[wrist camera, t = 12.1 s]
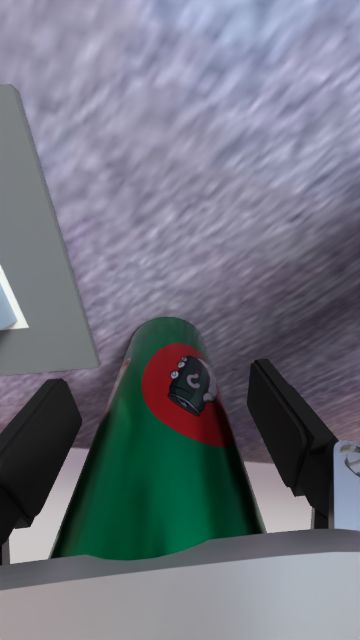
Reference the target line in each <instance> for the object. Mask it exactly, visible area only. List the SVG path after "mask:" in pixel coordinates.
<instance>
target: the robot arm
mask: <svg viewBox="0 0 360 640" xmlns="http://www.w3.org/2000/svg"><path fill="white" fill-rule="evenodd" d="M247 406H248V409H249V411H250V413H251V415H252V417H253V419H254V422H255V424H256V426H257V428H258V430H259V432H260V434H261V436H262V438H263V440H264V443H265V445H266V447H267V449H268V451H269V453H270V455H271V457H272V459H273V461H274V464H275V466H276V468H277V470H278V472H279V474H280V476H281V478H282V480H283V482H284V484H285V485H286V486H287V487H290V488H291V490H292V492H293V494H294V496H295V497H296V496H304V495H305V496H306V498H307V500H308V502H309V504H310V506H312V517H311V529H309V530H298V531H287V532H276V533H264V534H255V535H247V536H238V537H229V538H220V539H212V540H207V541H206V542H204V543H201V544H199V545H196V546H193V547H191V548H188V549H186V550H183V551H181V552H177V553H173V554H169V555H165V556H161V557H157V558H151V559H141V560H131V561H124V560H108V559H102V558H98V557H94V556H90V555H78V556H70V557H62V558H55V559H47V560H39V561H31V562H23V563H15V564H10V553H9V536H10V534H11V532H12V530H13V529H14V528H15V529H18V528H27V527H30V526H31V524H32V522H33V520H34V518H35V516H37V515H38V514H39V513H40V512H41V510H42V508H43V506H44V504H45V502H46V499H47V497H48V495H49V493H50V491H51V489H52V487H53V484H54V482H55V480H56V478H57V476H58V474H59V472H60V470H61V467H62V465H63V463H64V461H65V459H66V457H67V455H68V452H69V450H70V448H71V446H72V444H73V442H74V440H75V438H76V435H77V433H78V431H79V429H80V427H81V424H82V418H81V416H80V413H79V411H78V408H77V406H76V403H75V401H74V399H73V396H72V394H71V391H70V389H69V386H68V384H67V382H66V381H64V380H63V379H61V378H59V379H49V380H47V381H46V382H45V383H44V384H43V385H42V386H41V388H40V389H39V390H38V391H37V392H36V393H35V394H34V396H33V397H32V398H31V399H30V400H29V401H28V403H27V404H26V405H25V406H24V407H23V408H22V409H21V411H20V412H19V413H18V414H17V415H16V416H15V418H14V419H13V420H12V421H11V422H10V423H9V424H8V426H7V427H6V428H5V429H4V430H3V431H2V433H1V434H0V640H360V443H357V442H354V441H350V440H342V441H339V440H338V439H337V438H336V437H335V436H334V435H333V433H332V432H331V431H330V430H329V429H328V427H327V426H326V425H325V424H324V423H323V422H322V420H321V419H320V418H319V417H318V416H317V415H316V413H315V412H314V411H313V410H312V409H311V407H310V406H309V405H308V404H307V403H306V402H305V400H304V399H303V398H302V397H301V396H300V395H299V393H298V392H297V391H296V390H295V389H294V388H293V387H292V386H291V385H289V384H288V383H287V382H286V380H285V379H284V378H283V377H282V376H281V374H280V373H279V372H278V371H277V370H276V369H275V367H274V366H273V365H272V364H271V363H270V361H269V360H268V359H260V360H255V361H254V363H252V364H251V369H250V378H249V388H248V397H247Z"/></svg>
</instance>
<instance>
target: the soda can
mask: <svg viewBox="0 0 360 640" xmlns="http://www.w3.org/2000/svg"><path fill="white" fill-rule="evenodd" d="M264 533H267V531H266V529H265V526H264V522H263V519H262V517H261V513H260V510H259V507H258V504H257V501H256V498H255V495H254V492H253V489H252V486H251V483H250V480H249V477H248V474H247V471H246V468H245V465H244V462H243V459H242V456H241V453H240V450H239V447H238V444H237V441H236V438H235V434H234V431H233V428H232V425H231V422H230V419H229V416H228V413H227V410H226V407H225V404H224V401H223V398H222V395H221V392H220V389H219V386H218V383H217V380H216V377H215V374H214V371H213V368H212V365H211V362H210V359H209V356H208V353H207V350H206V347H205V344H204V341H203V338H202V336H201V334H200V333H199V331H198V330H197V329H196V328H195V327H194V326H193V325H192V324H190V323H189V322H187V321H185V320H182V319H179V318H175V317H160V318H156V319H153V320H150V321H148V322H146V323H145V324H143V325H142V326H141V327H140V328H138V330H137V331H136V332H135V334H134V335H133V337H132V340H131V342H130V345H129V347H128V350H127V353H126V355H125V358H124V361H123V363H122V366H121V368H120V371H119V374H118V376H117V379H116V382H115V384H114V387H113V389H112V392H111V395H110V397H109V400H108V403H107V405H106V408H105V410H104V413H103V416H102V418H101V421H100V424H99V426H98V429H97V431H96V434H95V437H94V439H93V442H92V445H91V447H90V450H89V453H88V455H87V458H86V461H85V463H84V466H83V469H82V471H81V473H80V476H79V479H78V481H77V484H76V487H75V489H74V492H73V495H72V497H71V500H70V503H69V505H68V508H67V510H66V513H65V516H64V518H63V521H62V523H61V526H60V529H59V531H58V534H57V537H56V539H55V542H54V544H53V547H52V550H51V552H50V555H49V558H48V559H55V558H62V557H70V556H78V555H90V556H94V557H98V558H102V559H108V560H124V561H131V560H141V559H151V558H157V557H161V556H165V555H169V554H173V553H177V552H181V551H183V550H186V549H188V548H191V547H193V546H196V545H199V544H201V543H204V542H206V541H207V540H212V539H220V538H229V537H238V536H247V535H255V534H264Z"/></svg>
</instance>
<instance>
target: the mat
mask: <svg viewBox="0 0 360 640" xmlns="http://www.w3.org/2000/svg"><path fill="white" fill-rule="evenodd" d="M0 283H1V286H2V288H3V290H4V292H5V294H6V296H7V299H8V301H9V303H10V305H11V307H12V309H13V311H14V314H15V316H16V318H17V320H18V321H16V322H14V323H12V324H10V325H8V326H6V327H4V328H3V329H1V330H0V376H7V375H18V374H29V373H41V372H52V371H64V370H75V369H86V368H98V367H99V366H100V364H101V363H100V360H99V357H98V353H97V350H96V347H95V343H94V340H93V337H92V333H91V330H90V327H89V324H88V320H87V317H86V314H85V310H84V307H83V304H82V300H81V297H80V294H79V290H78V287H77V284H76V280H75V277H74V274H73V270H72V267H71V264H70V260H69V257H68V254H67V250H66V247H65V244H64V240H63V237H62V234H61V231H60V227H59V224H58V221H57V217H56V214H55V211H54V207H53V204H52V201H51V197H50V194H49V191H48V187H47V184H46V181H45V177H44V174H43V171H42V167H41V164H40V161H39V157H38V154H37V151H36V148H35V144H34V141H33V138H32V134H31V131H30V128H29V124H28V121H27V118H26V114H25V111H24V108H23V104H22V101H21V98H20V94H19V91H18V90H17V89H16V88H14V87H13V86H12V85H11V84H6V85H0Z"/></svg>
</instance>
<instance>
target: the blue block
mask: <svg viewBox="0 0 360 640" xmlns="http://www.w3.org/2000/svg"><path fill="white" fill-rule="evenodd" d="M16 321H18V320H17V318H16V316H15V314H14V311H13V309H12V307H11V305H10V303H9V301H8V299H7V296H6V294H5V292H4V290H3V288H2V286H1V283H0V330H1V329H3V328H4V327H6V326H8V325H10V324H12V323H14V322H16Z"/></svg>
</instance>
